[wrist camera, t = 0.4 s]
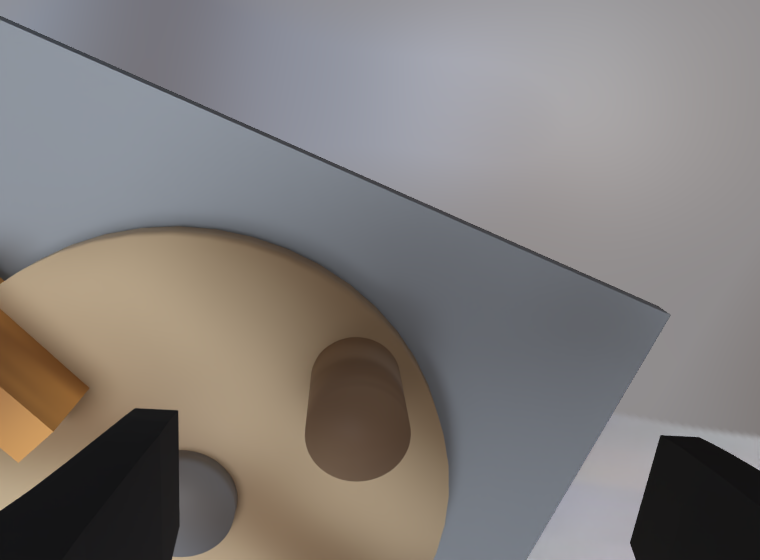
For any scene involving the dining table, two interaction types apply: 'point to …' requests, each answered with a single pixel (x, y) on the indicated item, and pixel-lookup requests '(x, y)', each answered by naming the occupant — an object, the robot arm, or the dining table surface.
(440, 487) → the dial
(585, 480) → the dining table surface
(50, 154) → the grey flat square board
